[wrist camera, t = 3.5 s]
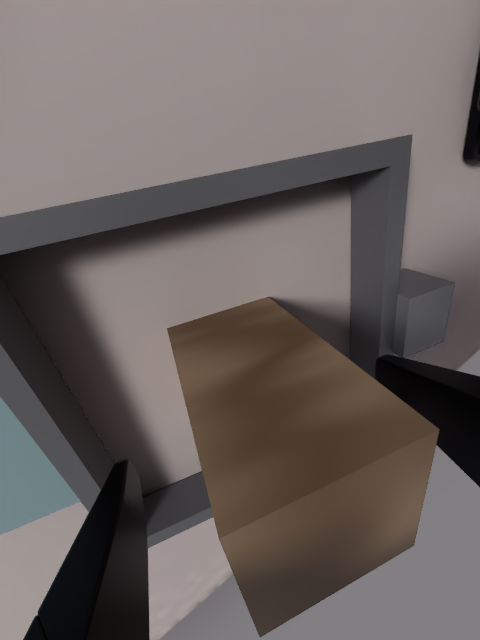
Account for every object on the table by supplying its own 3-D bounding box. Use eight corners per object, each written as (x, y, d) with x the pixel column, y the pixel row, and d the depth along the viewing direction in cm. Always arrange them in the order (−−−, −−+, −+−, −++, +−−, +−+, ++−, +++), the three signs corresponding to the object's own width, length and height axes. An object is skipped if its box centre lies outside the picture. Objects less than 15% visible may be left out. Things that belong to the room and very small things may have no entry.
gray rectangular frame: (417, 133, 12) (485, 119, 9) (391, 397, 18) (427, 426, 16) (-64, 230, 8) (-142, 246, 6) (125, 515, 15) (124, 574, 12)
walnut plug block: (268, 296, 12) (439, 429, 5) (279, 376, 14) (413, 545, 7) (166, 328, 11) (219, 539, 4) (194, 408, 13) (260, 637, 7)
